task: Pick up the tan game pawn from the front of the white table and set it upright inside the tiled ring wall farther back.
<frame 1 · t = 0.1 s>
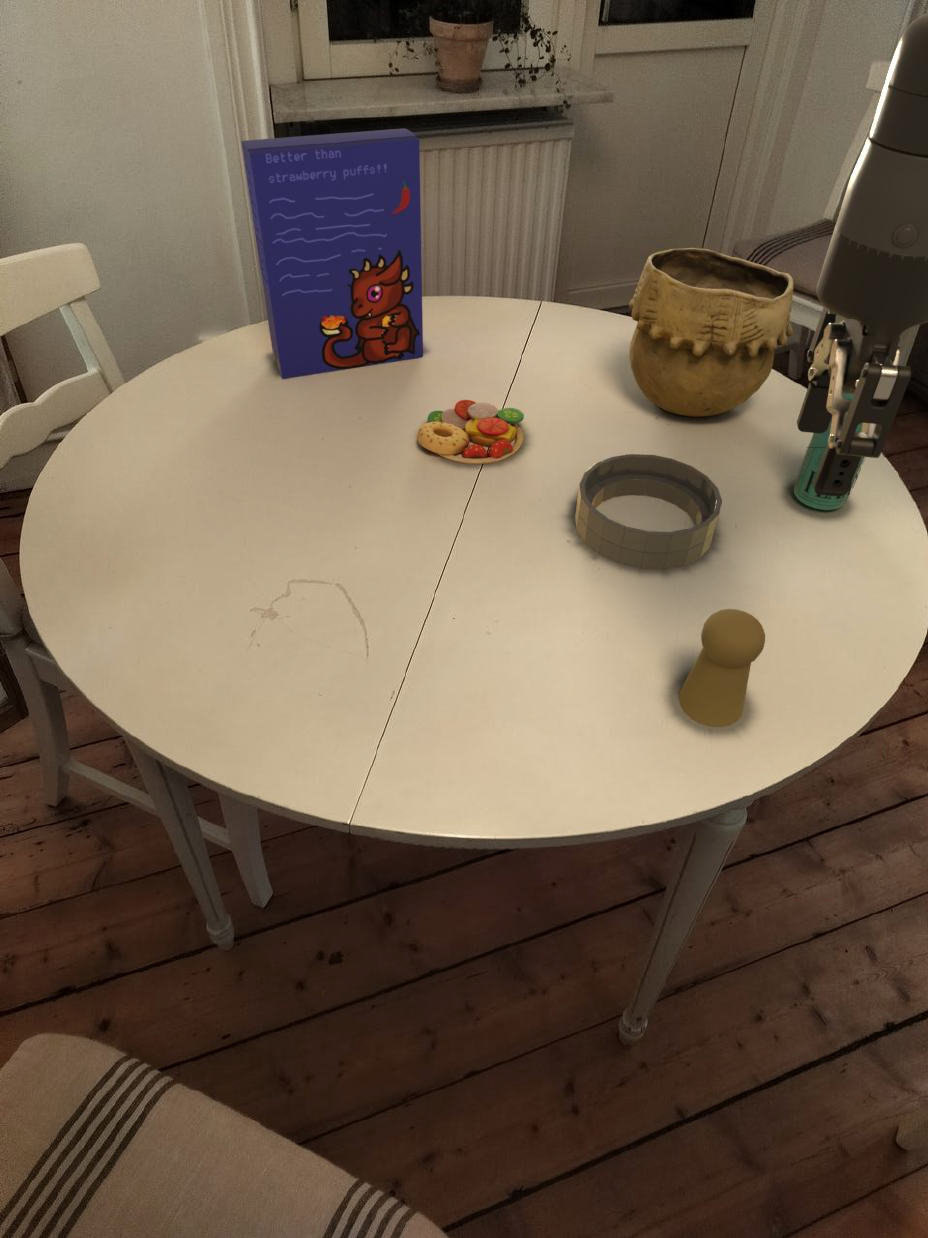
hand: (818, 459, 61), 26 cm above the table, tool pointing down, fingers open, 8 cm apart
cereal box: (349, 360, 127), on the table
tan game pawn: (708, 709, 77), on the table
beverage bottle: (815, 506, 101), on the table
clay pot: (688, 407, 118), on the table
tiled ring wall: (642, 531, 96), on the table
toy food set: (472, 443, 110), on the table
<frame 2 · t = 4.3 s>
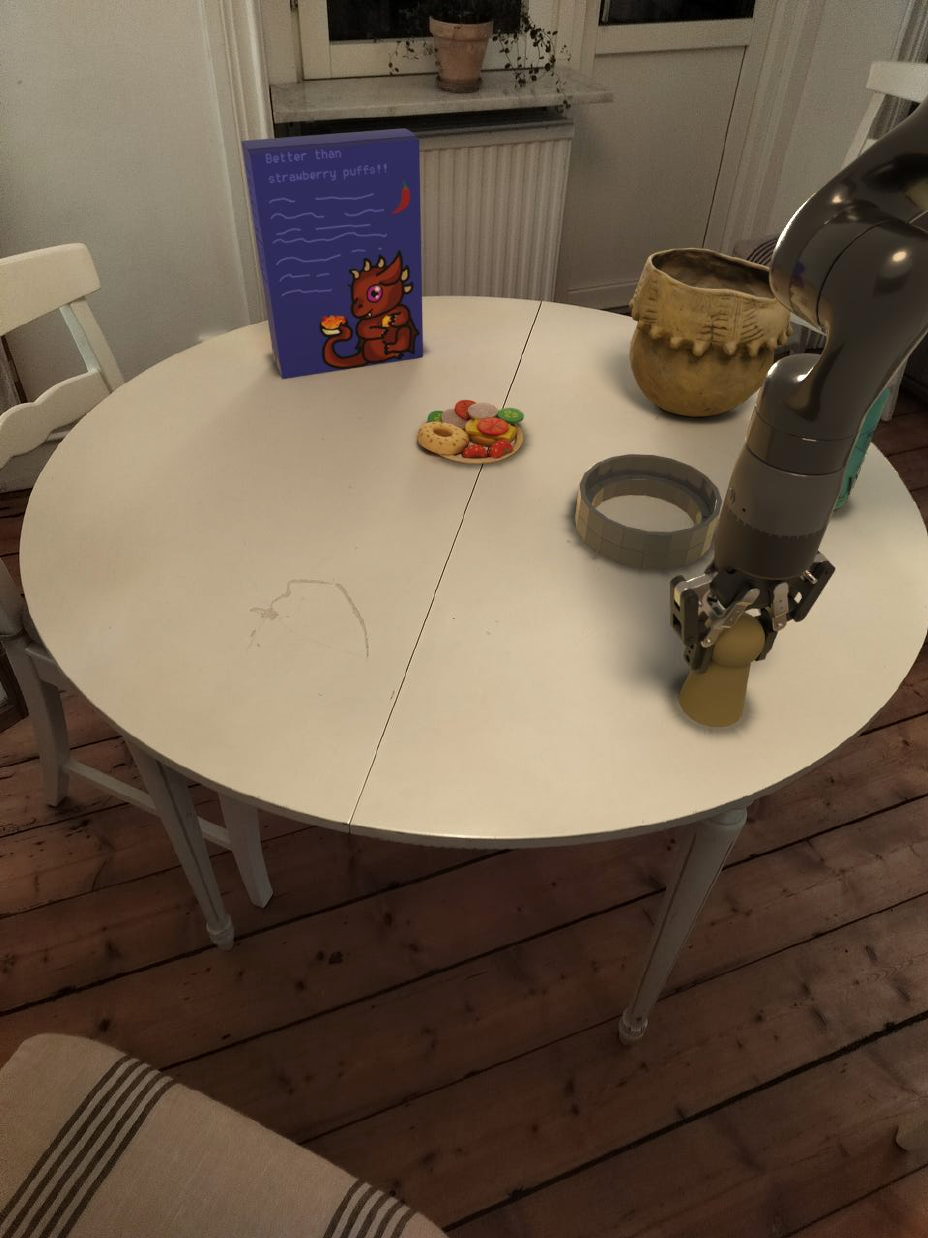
hand: (725, 660, 73), 6 cm above the table, tool pointing down, fingers closed on tan game pawn, 5 cm apart
tan game pawn: (708, 709, 77), on the table, touching gripper
everything else where it was.
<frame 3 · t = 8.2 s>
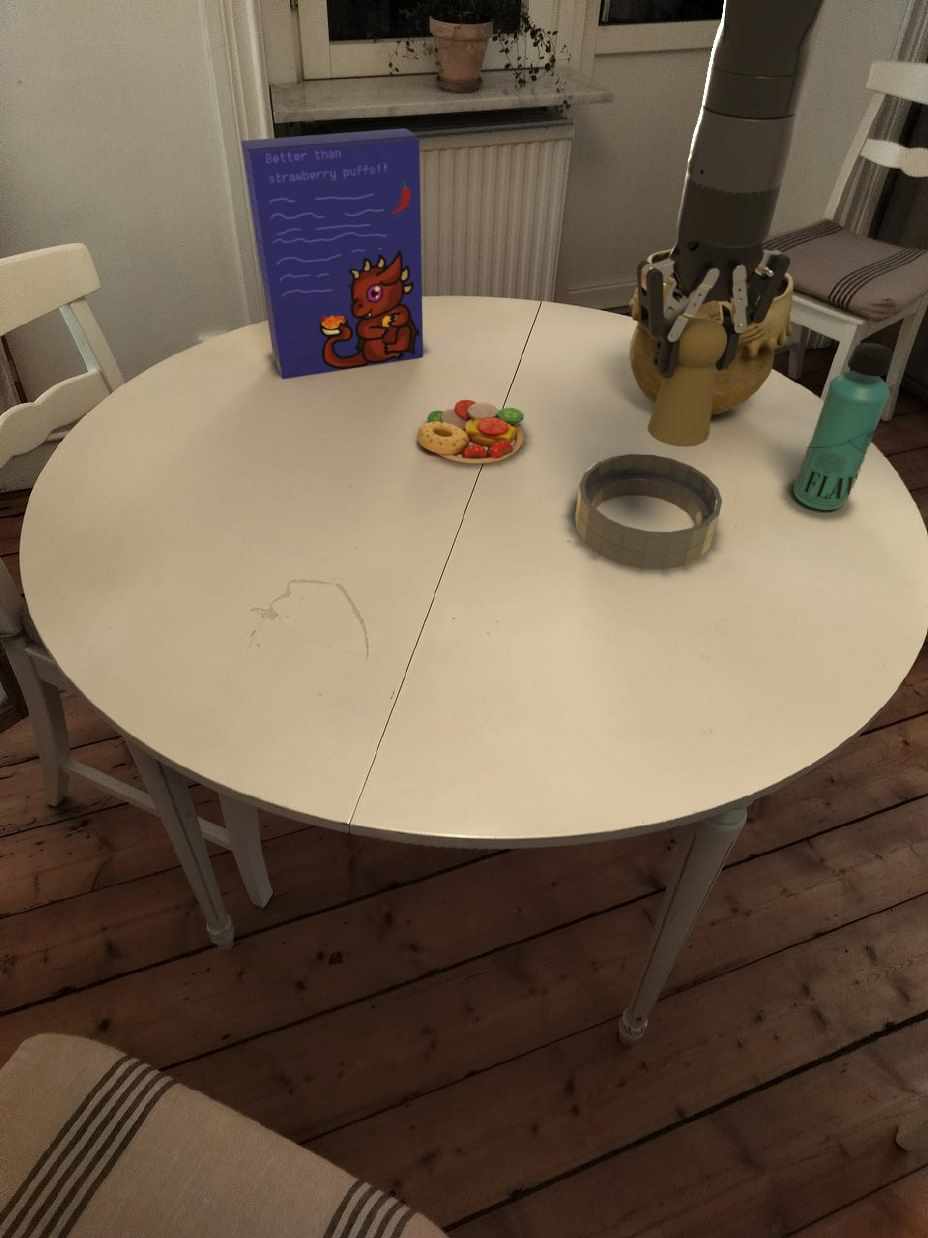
hand: (691, 369, 78), 22 cm above the table, tool pointing down, fingers closed on tan game pawn, 5 cm apart
tan game pawn: (677, 432, 83), point 16 cm above the table, touching gripper
everything else where it was.
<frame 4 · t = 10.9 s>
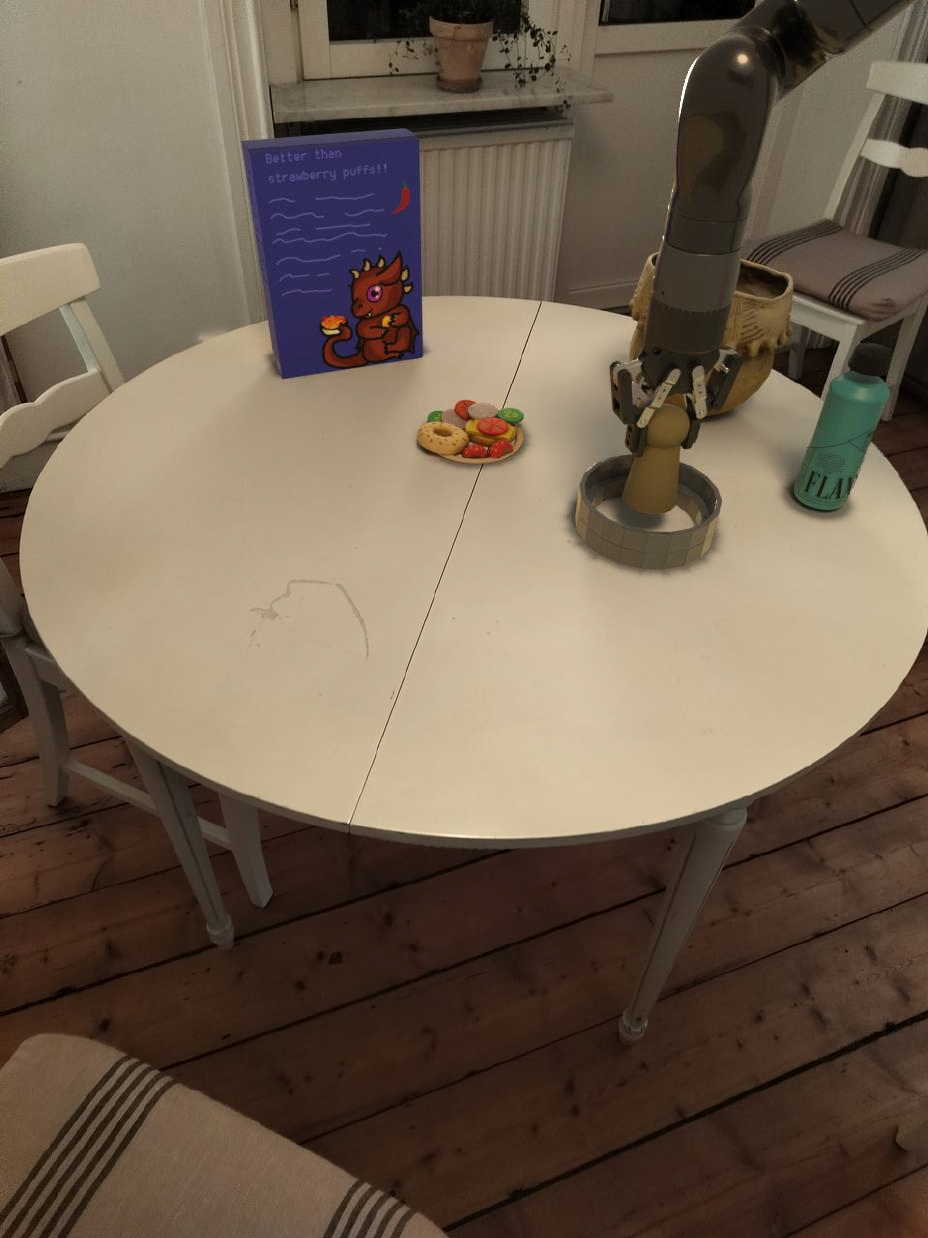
hand: (659, 448, 89), 11 cm above the table, tool pointing down, fingers closed on tan game pawn, 5 cm apart
tan game pawn: (648, 499, 93), point 4 cm above the table, touching gripper
everything else where it was.
when the fingers open (7 cm above the table, at t = 12.4 s): tan game pawn stays where it is, resting on tiled ring wall.
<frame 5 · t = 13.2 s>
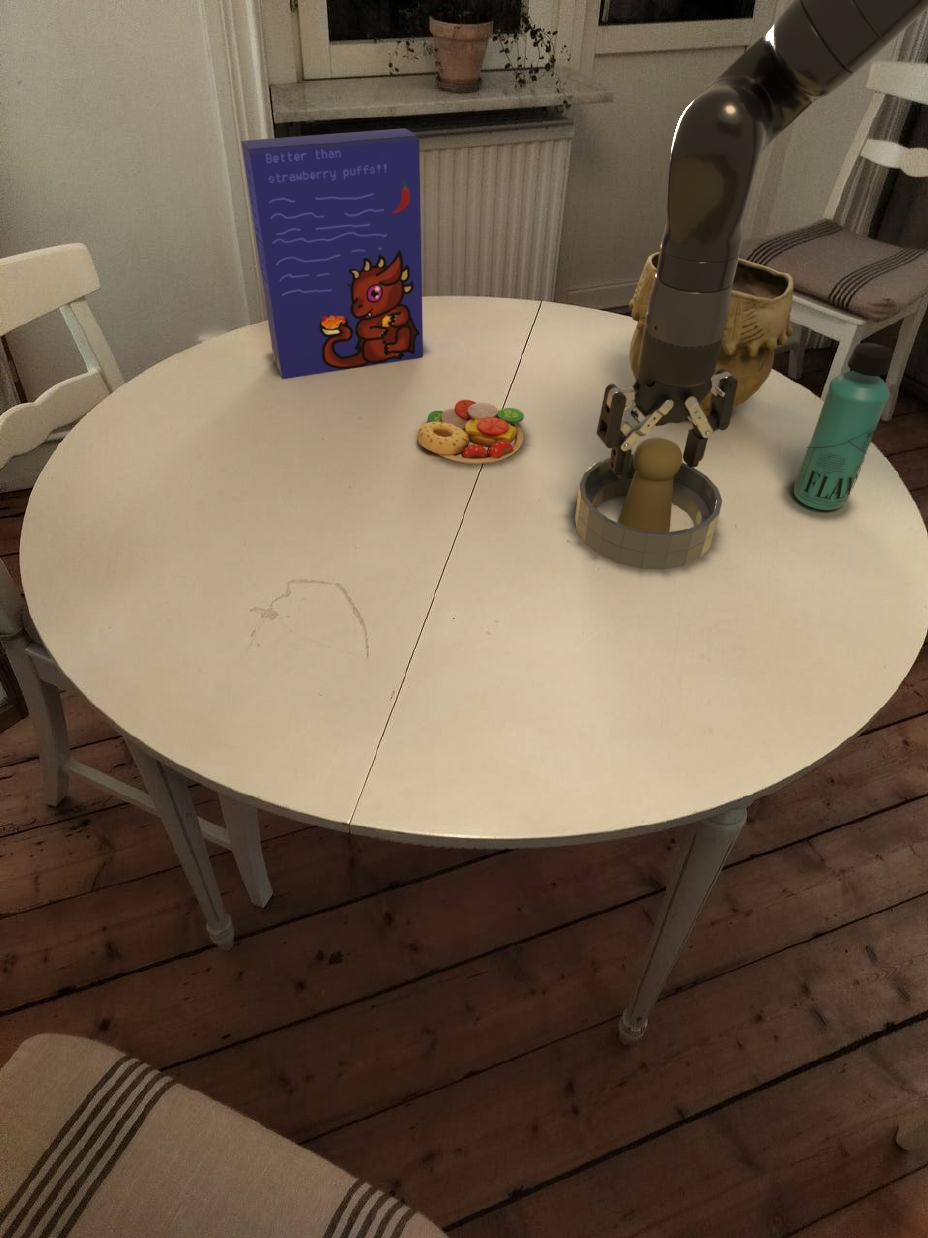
hand: (655, 469, 91), 8 cm above the table, tool pointing down, fingers open, 8 cm apart
tan game pawn: (643, 528, 96), resting on tiled ring wall
everything else where it was.
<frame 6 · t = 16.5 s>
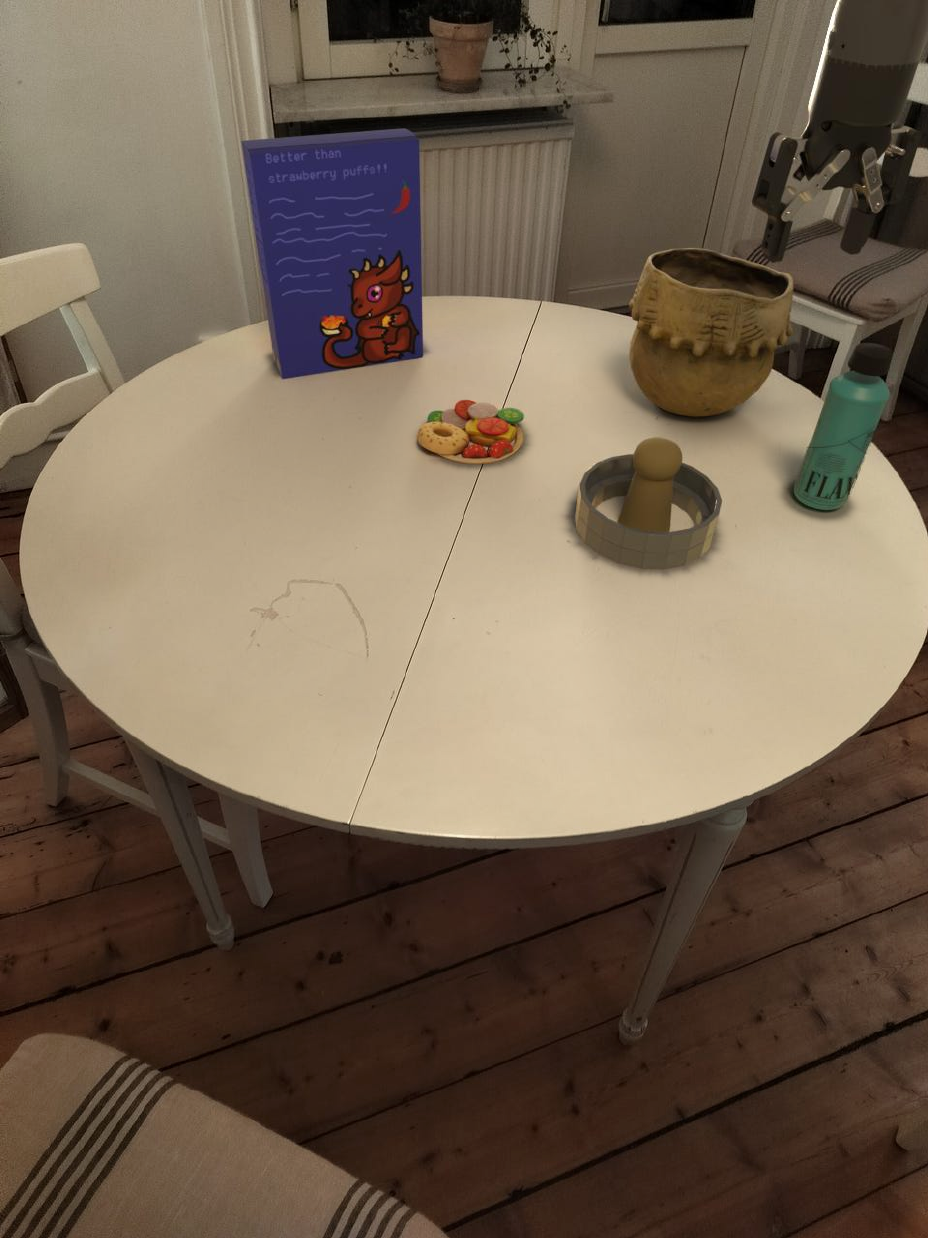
hand: (811, 255, 79), 30 cm above the table, tool pointing down, fingers open, 8 cm apart
nothing on the table moved.
at the end: tan game pawn inside the target area in the tiled ring wall (0.1 cm from its centre), point 0.4 cm above the tiled ring wall's base; tan game pawn tilted 0° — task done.
